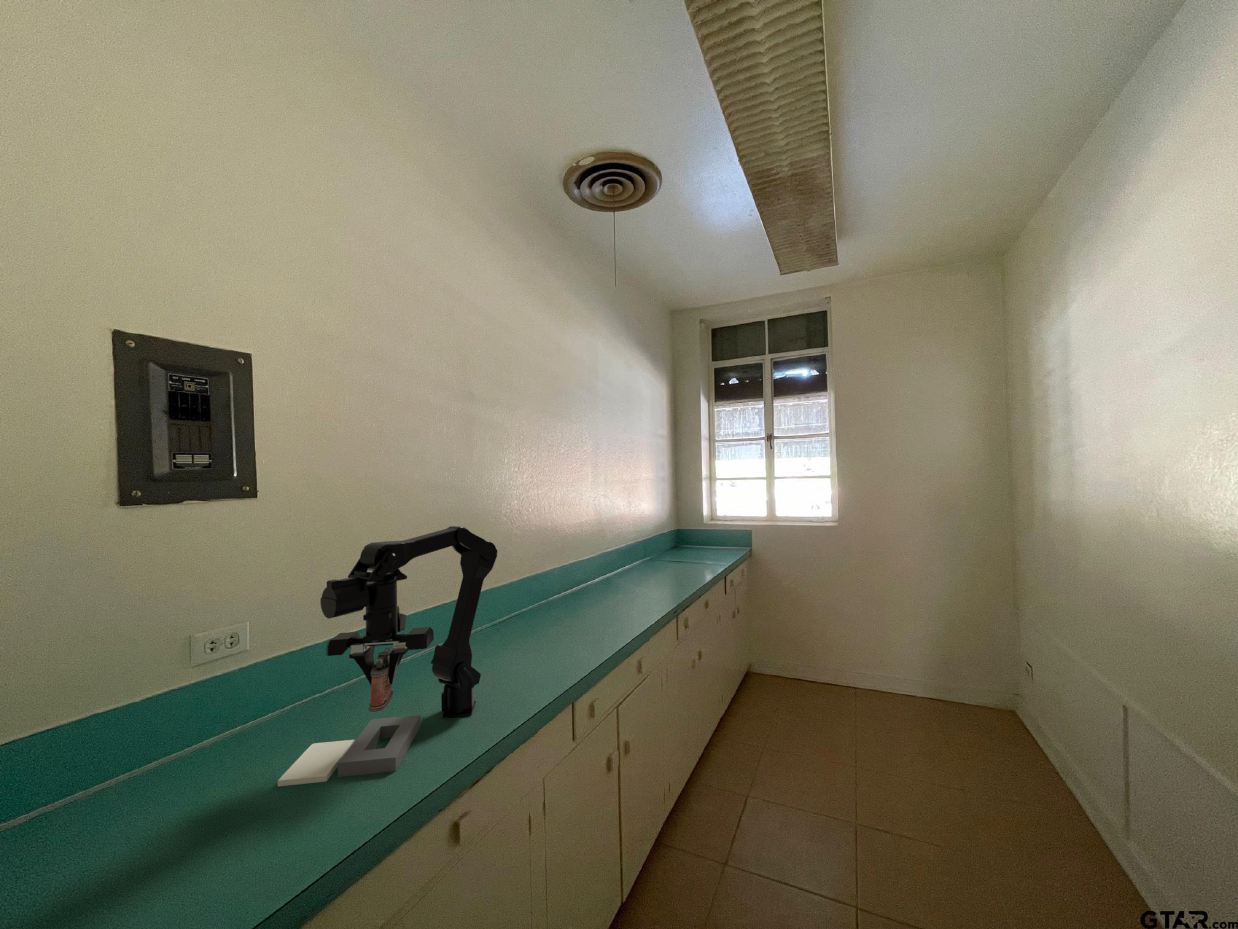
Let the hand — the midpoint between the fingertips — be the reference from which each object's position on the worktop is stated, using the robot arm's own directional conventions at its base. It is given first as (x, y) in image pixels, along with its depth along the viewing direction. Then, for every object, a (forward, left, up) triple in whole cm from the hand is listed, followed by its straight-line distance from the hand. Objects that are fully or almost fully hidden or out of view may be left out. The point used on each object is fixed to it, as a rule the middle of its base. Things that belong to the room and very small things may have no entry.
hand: (382, 684), depth 95 cm
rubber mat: (+11, +3, -13) cm, 17 cm away
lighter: (0, 0, -4) cm, 4 cm away
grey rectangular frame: (0, 0, -13) cm, 13 cm away
